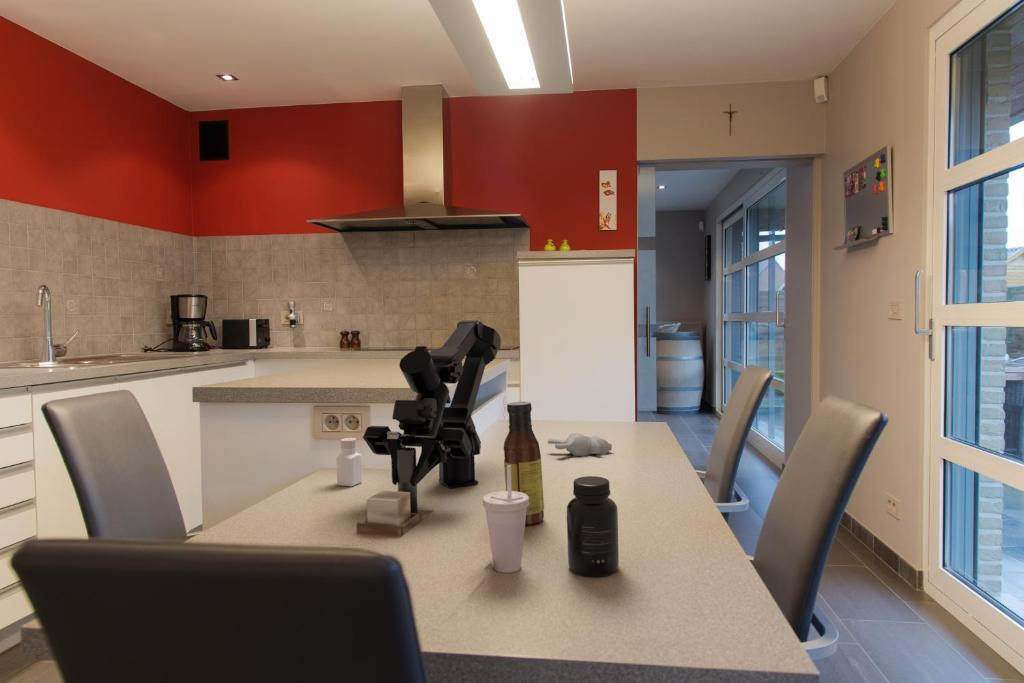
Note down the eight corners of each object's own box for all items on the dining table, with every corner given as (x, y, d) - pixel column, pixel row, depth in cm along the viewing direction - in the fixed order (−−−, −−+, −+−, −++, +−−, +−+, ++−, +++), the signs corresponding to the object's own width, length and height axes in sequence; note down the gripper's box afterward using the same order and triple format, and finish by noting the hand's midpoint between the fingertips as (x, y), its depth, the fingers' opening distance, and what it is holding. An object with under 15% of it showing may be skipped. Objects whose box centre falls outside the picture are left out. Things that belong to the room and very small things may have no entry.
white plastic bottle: (336, 486, 128) (334, 440, 128) (348, 481, 132) (346, 436, 131) (352, 487, 127) (350, 441, 126) (363, 482, 130) (362, 437, 130)
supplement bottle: (563, 559, 86) (562, 474, 86) (611, 556, 87) (610, 472, 87) (572, 580, 80) (571, 488, 79) (624, 577, 80) (623, 485, 80)
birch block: (383, 520, 102) (382, 490, 101) (410, 522, 100) (409, 492, 100) (368, 530, 97) (367, 499, 97) (397, 533, 95) (396, 501, 95)
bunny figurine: (617, 440, 149) (559, 437, 146) (615, 461, 149) (556, 458, 146) (601, 433, 159) (546, 430, 155) (599, 453, 159) (544, 450, 155)
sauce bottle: (548, 516, 105) (546, 400, 105) (538, 528, 100) (535, 405, 99) (512, 513, 108) (509, 399, 107) (500, 524, 102) (497, 404, 101)
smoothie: (526, 578, 81) (523, 472, 80) (478, 575, 82) (475, 470, 81) (534, 559, 87) (532, 460, 86) (490, 556, 88) (487, 459, 88)
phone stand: (394, 513, 109) (392, 445, 108) (434, 516, 106) (432, 447, 106) (357, 539, 96) (354, 462, 96) (401, 542, 94) (399, 464, 94)
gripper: (366, 381, 111) (334, 456, 100) (464, 381, 105) (441, 460, 95) (388, 417, 118) (360, 490, 108) (480, 419, 113) (460, 496, 103)
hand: (403, 484), depth 104 cm, fingers closed on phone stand, 3 cm apart
